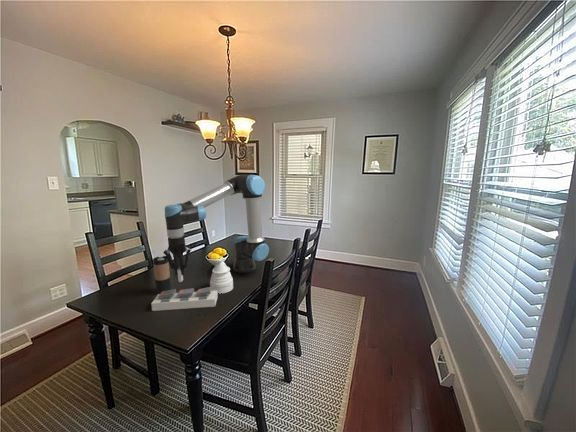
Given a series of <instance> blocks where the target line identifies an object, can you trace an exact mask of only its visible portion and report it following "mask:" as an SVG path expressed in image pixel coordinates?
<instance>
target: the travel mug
mask: <svg viewBox="0 0 576 432" xmlns="http://www.w3.org/2000/svg"><path fill="white" fill-rule="evenodd" d="M152 263H153V264H152V265H153V275H154V282H155V289H156V290H155V291H156V293H157V295H158V294H161V292H163V291H167V290H172V287H171V283H172V282H171V273H170V272H171V271H170V265H169V262H168V259H167V257H166V255H163V256H156V257H154V258H152Z"/></svg>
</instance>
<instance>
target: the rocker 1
mask: <svg viewBox="0 0 576 432" xmlns="http://www.w3.org/2000/svg"><path fill="white" fill-rule="evenodd" d="M175 293H177V290H176V288H173V289H172V288H171V290H167V291H163V292H161V294H160V295H159V296H158V297H159V299H163V298H168V297H172V296H174V295H175Z"/></svg>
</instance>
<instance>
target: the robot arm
mask: <svg viewBox="0 0 576 432" xmlns="http://www.w3.org/2000/svg"><path fill="white" fill-rule="evenodd" d="M265 188H266V184H265V180H264V179H263V178H262V177H261V176H259V175H255V174H239V175H236V176H234V177H232V178H230V179H227V180H225V181H224V183H222V184H221V185H218V186H216V187H215V188H212V189H211V190H208V191H206V192H204V193H202V194H200V195H198V196H196V197H193V198H191V199H189V200H187V201H184V202H183V203H181V202H180V203H177V204H168V205H166V206H165V207H164V218H165V224H166V225H165V226H166V235H167V237H168V238H167V242H168V243H167V244H168V246H167V248H166V249H165V250H163V254H164V256H166V257H167V259H168V262H169V268H170V269H172V270H175V271H174V272H175V276H177V278H178V280H177V281H178V283H182V282H183V281H184V275H185V269H186V268H187V267H188V265H189V259H190V254H191V252H192V248H190V247H189V248H188V247H187V244H186V239H185V236H184V235H185V229H184V228H185V227H184V224H186V223H187V224H188V223H193V222H197V221H203V220H205V219H206V218H207V209H206V208H207V207H209V206H211V205H213V204H215V203H217V202H219V201H221V200H223V199H225V198H227V197H229V196H234V195H237V194H242V199H243V200H245V210H246V221H247V222H246V223H247V235H240V236H238V237H235V238H234V255H235V256H234V257H235V259H234V263H233V266H232V269H233V271H234V272H236V273H239V274H240V273H241V274H244V273H245V274H246V273H250V272H253V271H254V270H255V269H256V263H255V261H258V262H261V261H263V260H265V259H266V258H267V256H268V255H269V252H270V248H269V245H268V244H267V243H266V241H265V237H264V236H263V233H262V231H263V229H262V215H261V214H262V213H261V203H260V200H261V198H262V195H263V193H264V192H265V190H266V189H265ZM185 252H186V253H185ZM184 253H185V258H184ZM171 254H172V255H171Z"/></svg>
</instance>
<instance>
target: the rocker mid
mask: <svg viewBox="0 0 576 432" xmlns="http://www.w3.org/2000/svg"><path fill="white" fill-rule="evenodd" d="M194 292H195V287H191V288H185V289H179V290H178V292H177V293H178V294H177V296H178V297H186V296H192V295H193V293H194Z"/></svg>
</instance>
